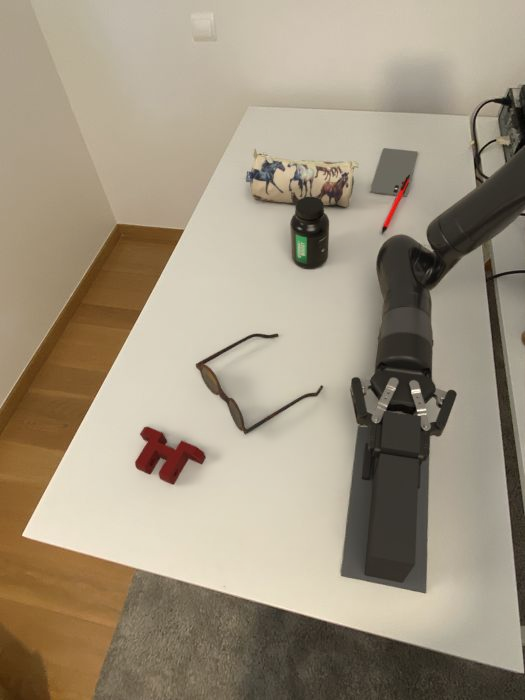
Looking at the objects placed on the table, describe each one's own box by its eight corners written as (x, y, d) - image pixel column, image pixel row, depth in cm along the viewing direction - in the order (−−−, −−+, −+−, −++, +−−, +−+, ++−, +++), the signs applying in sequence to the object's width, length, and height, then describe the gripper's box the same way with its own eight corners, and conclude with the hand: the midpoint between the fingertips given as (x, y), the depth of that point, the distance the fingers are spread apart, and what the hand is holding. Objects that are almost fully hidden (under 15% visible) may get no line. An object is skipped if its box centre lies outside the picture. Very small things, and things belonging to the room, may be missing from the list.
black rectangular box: (409, 447, 69) (421, 416, 62) (407, 481, 66) (419, 453, 59) (376, 441, 70) (384, 410, 63) (373, 475, 67) (380, 446, 60)
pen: (410, 177, 105) (411, 172, 104) (383, 236, 96) (384, 231, 95) (406, 176, 105) (407, 172, 105) (379, 235, 96) (380, 230, 95)
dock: (429, 438, 71) (443, 404, 63) (425, 593, 59) (442, 575, 51) (357, 427, 73) (363, 393, 65) (340, 576, 61) (345, 555, 53)
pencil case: (247, 207, 104) (242, 166, 96) (257, 183, 109) (253, 141, 101) (352, 217, 100) (356, 174, 92) (358, 190, 105) (361, 148, 97)
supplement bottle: (303, 275, 92) (302, 223, 82) (285, 253, 95) (282, 201, 86) (335, 260, 93) (337, 208, 83) (315, 240, 97) (316, 187, 87)
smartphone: (418, 151, 111) (407, 194, 102) (417, 153, 111) (407, 197, 102) (383, 147, 112) (370, 190, 104) (383, 150, 113) (369, 192, 104)
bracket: (202, 449, 69) (142, 424, 72) (181, 485, 67) (120, 458, 70) (205, 457, 72) (147, 433, 75) (186, 492, 69) (126, 466, 72)
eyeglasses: (198, 375, 80) (192, 357, 76) (274, 331, 84) (272, 312, 80) (246, 443, 73) (243, 427, 69) (328, 391, 77) (329, 373, 73)
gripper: (451, 368, 72) (451, 480, 63) (351, 355, 75) (337, 461, 65) (464, 336, 66) (466, 455, 56) (355, 324, 69) (340, 436, 59)
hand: (397, 458), depth 61 cm, fingers closed on black rectangular box, 4 cm apart
